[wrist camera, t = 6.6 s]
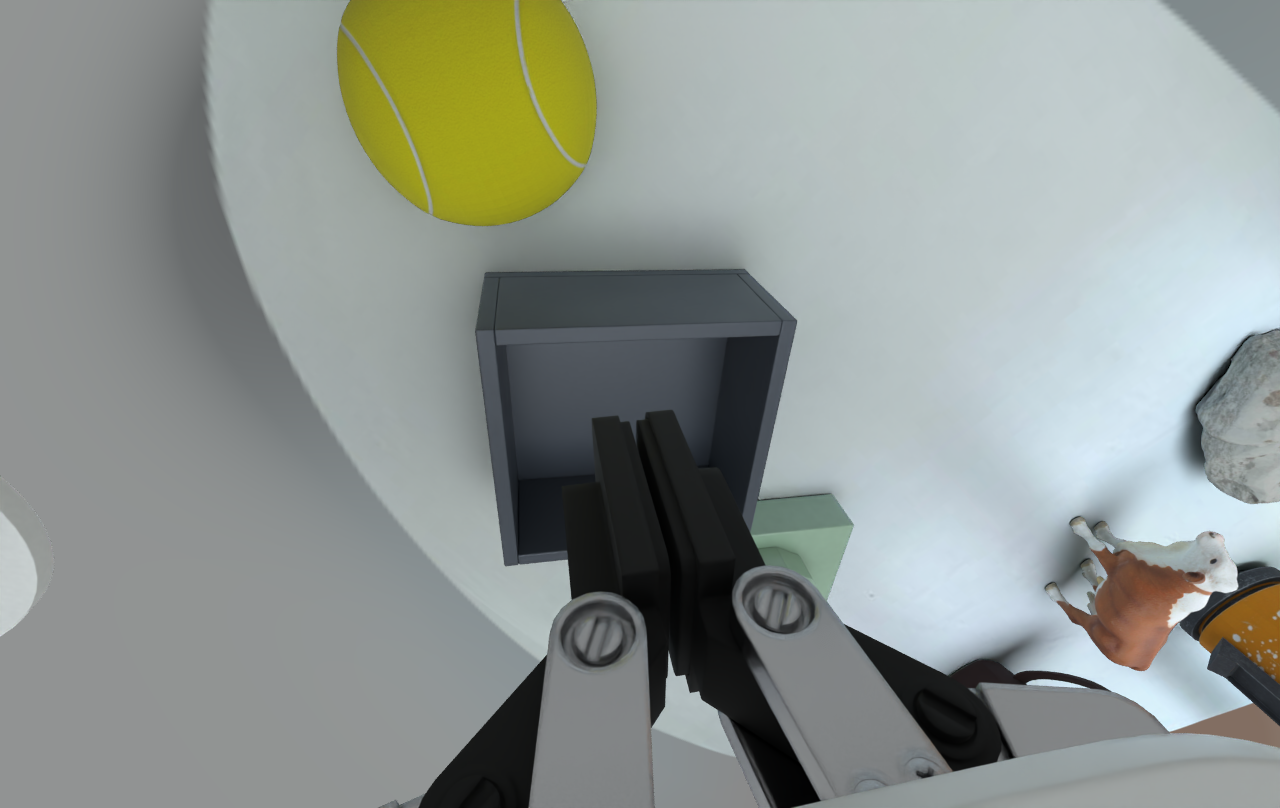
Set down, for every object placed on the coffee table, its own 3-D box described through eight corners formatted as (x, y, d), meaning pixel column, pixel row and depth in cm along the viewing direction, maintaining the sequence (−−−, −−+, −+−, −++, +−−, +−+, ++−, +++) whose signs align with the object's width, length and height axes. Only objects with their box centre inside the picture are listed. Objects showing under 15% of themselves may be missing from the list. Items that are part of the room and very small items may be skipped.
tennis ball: (433, 221, 21) (399, 286, 15) (328, 0, 17) (226, -27, 11) (608, 165, 21) (641, 209, 15) (544, -68, 17) (555, -131, 11)
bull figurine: (1144, 469, 37) (1280, 561, 31) (1076, 592, 45) (1174, 687, 38) (1087, 482, 37) (1213, 577, 30) (1028, 603, 45) (1118, 701, 38)
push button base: (647, 609, 36) (662, 673, 32) (656, 509, 31) (674, 571, 27) (801, 590, 38) (831, 648, 34) (832, 493, 33) (871, 548, 29)
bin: (507, 482, 28) (504, 566, 23) (484, 272, 22) (474, 330, 17) (714, 465, 30) (749, 540, 25) (745, 269, 24) (798, 320, 19)
